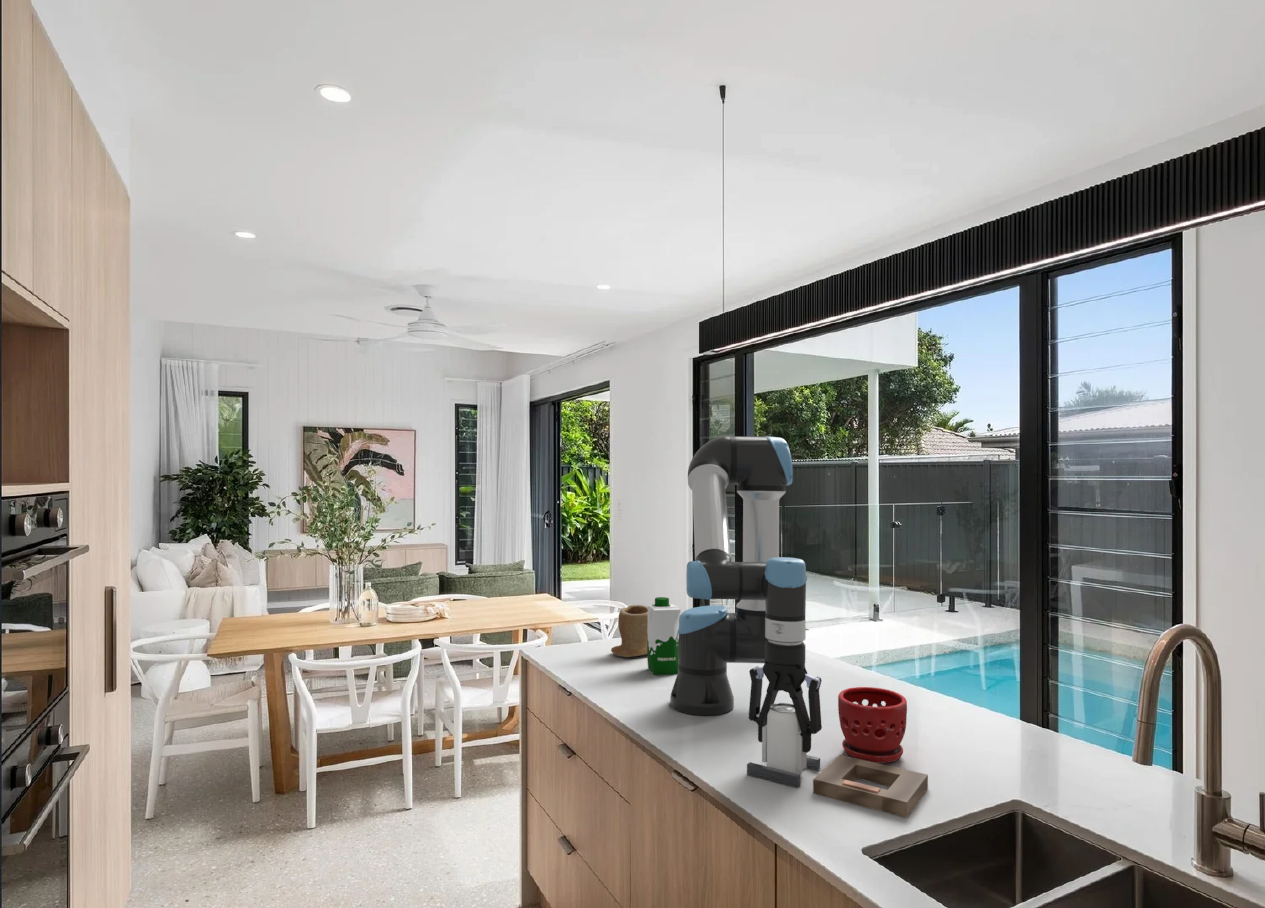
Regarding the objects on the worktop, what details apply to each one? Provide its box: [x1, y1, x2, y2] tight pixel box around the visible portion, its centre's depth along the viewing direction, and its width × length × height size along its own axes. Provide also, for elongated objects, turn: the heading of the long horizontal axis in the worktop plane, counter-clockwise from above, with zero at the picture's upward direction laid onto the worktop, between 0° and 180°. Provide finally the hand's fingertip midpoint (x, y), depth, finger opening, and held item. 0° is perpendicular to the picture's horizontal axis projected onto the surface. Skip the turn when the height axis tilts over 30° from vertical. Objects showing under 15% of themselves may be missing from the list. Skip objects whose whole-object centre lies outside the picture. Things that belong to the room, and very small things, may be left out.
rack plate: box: [812, 754, 929, 818], centre depth 135 cm, size 16×14×3 cm
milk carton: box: [646, 596, 682, 676], centre depth 214 cm, size 9×9×20 cm
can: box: [766, 702, 803, 775], centre depth 144 cm, size 6×6×12 cm
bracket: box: [746, 754, 821, 789], centre depth 144 cm, size 10×11×2 cm
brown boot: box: [610, 604, 648, 658], centre depth 232 cm, size 15×12×15 cm
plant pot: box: [837, 686, 908, 764], centre depth 152 cm, size 13×13×12 cm
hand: (784, 763), depth 144 cm, fingers closed on can, 6 cm apart
